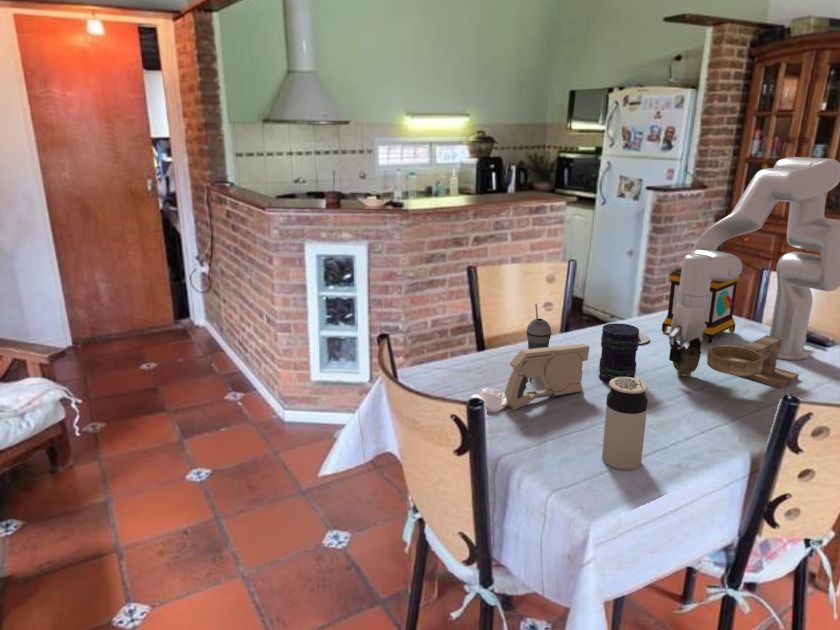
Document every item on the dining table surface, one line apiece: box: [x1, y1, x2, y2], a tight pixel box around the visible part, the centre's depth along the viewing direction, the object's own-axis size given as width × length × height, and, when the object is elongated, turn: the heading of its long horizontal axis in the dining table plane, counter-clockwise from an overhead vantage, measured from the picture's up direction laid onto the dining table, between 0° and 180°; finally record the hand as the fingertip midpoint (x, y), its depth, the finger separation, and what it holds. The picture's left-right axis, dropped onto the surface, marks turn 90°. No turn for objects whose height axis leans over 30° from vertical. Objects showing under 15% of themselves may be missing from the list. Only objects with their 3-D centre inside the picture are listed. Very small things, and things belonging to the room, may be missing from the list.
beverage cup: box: [526, 303, 552, 349], centre depth 172 cm, size 7×7×20 cm
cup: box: [672, 345, 702, 379], centre depth 166 cm, size 8×7×8 cm
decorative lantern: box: [661, 266, 742, 345], centre depth 197 cm, size 20×20×30 cm
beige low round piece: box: [638, 332, 650, 345], centre depth 197 cm, size 12×12×5 cm
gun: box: [504, 343, 590, 410], centre depth 154 cm, size 24×3×15 cm, turn 117°
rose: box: [470, 387, 508, 413], centre depth 153 cm, size 10×4×10 cm
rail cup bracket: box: [706, 334, 799, 389], centre depth 159 cm, size 30×14×12 cm, turn 127°
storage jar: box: [598, 315, 640, 385], centre depth 164 cm, size 10×10×18 cm
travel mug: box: [601, 377, 649, 471], centre depth 123 cm, size 8×8×18 cm
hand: (684, 357), depth 165 cm, fingers open, 9 cm apart
